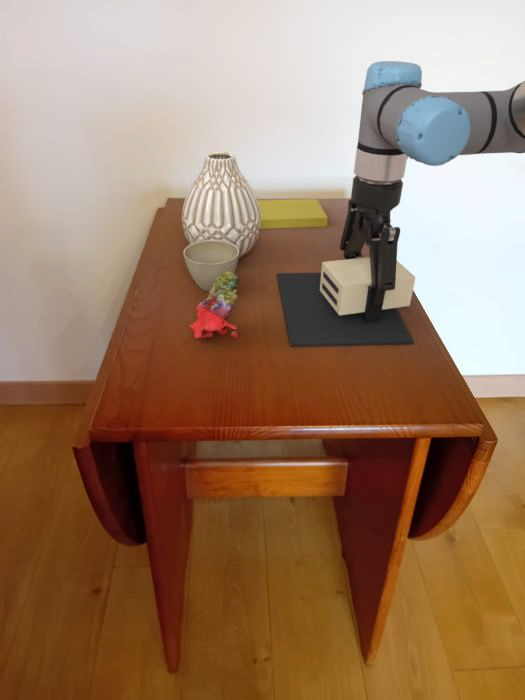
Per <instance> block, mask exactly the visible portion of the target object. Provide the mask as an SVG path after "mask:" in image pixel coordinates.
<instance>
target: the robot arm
mask: <svg viewBox="0 0 525 700" xmlns="http://www.w3.org/2000/svg"><path fill="white" fill-rule="evenodd" d="M365 75H366V76H365V80H364V81H365V82H364V86H363V89H362V93H361V95H362V101H361V109H360V110H361V111H360V117H359V118H360V119H359V129H358V136H357V137H358V138H357V145H356V150H355V159H354V168H353V173H354V175H355V176H354V177H353V178H352V185H351V193H350V199H348V204H347V214H346V219H345V222H344V227H343V231H342V234H341V239H340V244H339V249H340V251H343V253H342V255H343V258H344V260H346V259H356V258H362V257H363V254H362V250H363V248H364V246H365V244H366V246H367V247H368V250H369V257H370V266H371V280H372V286H368V293H367V300H366V307H365V313H364V319H363V320H364V321H365V322H371V321H378V320H380V317H381V311H382V306H383V302H384V296H385V291H387V290H394V289H395V280H396V262H397V261H398V242H399V240H400V235H401V228H400V227H399V226H393V225H392V224H391V221H392V220H391V212H392V211H393V209H395V208H397V207H398V206H399V204H400V203H401V198H402V192H403V187H404V182H403V180H402V179H403V178H405V174H406V167H407V161H408V159H411V160H414V161H415V162H417V163H421V164H424V165H426V166H430V167H431V166H432V167H438V166H443V165H445V164H447V163H449V162H451V161H452V160H454V159H456V158H457V157H458V156H470V155H471V156H472V155H483V154H486V155H487V154H505V153H506V154H508V153H509V154H511V153H512V154H525V80H524V81H521V82H520V83H518V84H516V85H514V86H512V87H511V88H509V89H505V90H485V91H484V90H481V91H446V92H444V91H443V92H442V91H440V92H439V91H438V92H435V91H428V90H425V89H422V85H423V84H422V77H423V70H422V67H421V65H419V64H417V63H413V62H407V61H399V60H397V61H396V60H385V61H384V60H383V61H382V60H381V61H376V62H372V63H371V64H370V65H369V66H368V68H367V70H366V74H365ZM378 239H379V240H378Z"/></svg>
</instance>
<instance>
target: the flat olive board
mask: <svg viewBox="0 0 525 700" xmlns="http://www.w3.org/2000/svg"><path fill="white" fill-rule="evenodd" d="M257 200H258V199H257ZM258 204H259V207H260V212H261V229H260V230H265V229H268V230H269V229H270V230H271V229H296V228H297V229H298V228H325V227H328V221H329V217H328V215H327V214H326V212H325V210H324V209H323V207H322V206H321V204H320V202H319V200H318V199H317V198H304V199H303V198H302V199H301V198H299V199H266V200H262V199H261V200H258Z"/></svg>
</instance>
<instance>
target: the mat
mask: <svg viewBox="0 0 525 700" xmlns="http://www.w3.org/2000/svg"><path fill="white" fill-rule="evenodd" d="M276 280H277V285H278V290H279V296H280V300H281V305H282V306H281V307H282V313H283V317H284V321H285V327H286V332H287V337H288V342H289V347H290V348H295V347H296V348H297V347H298V348H301V347H342V346H343V347H345V346H347V347H349V346H351V347H352V346H390V345H391V346H394V345H396V346H397V345H398V346H399V345H414V343H415V342H414V341H415V340H414V338H413V337H412V335H411V333H410V331H409V329H408V328H407V325H406V323H405V322H404V319H403V318H402V316H401V314H400V312H399V310H398V308H391V309H383V310H382V311H381V317H380V320H378V321H371V322H365V321H364V320H363V319H364V313H365V312H361V313H354V314H347V315H338V313H337V312H336V311H335V309H334V308H333V307H332V305H331V304H330V303H329V302H328V300H327V299H326V298H325V296H324V295H323V294H322V293H321V291H320V281H321V272H277V273H276Z"/></svg>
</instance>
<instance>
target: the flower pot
mask: <svg viewBox="0 0 525 700" xmlns="http://www.w3.org/2000/svg"><path fill="white" fill-rule="evenodd" d="M182 254H183V259H184V263H185V265H186V268H187V271H188V273H189V274H190V276H191V278H192V280H193V281H194V283H195V284H196V285H197V287H198V288H199V289H200V290H201V291H203V292H206V293H209V292H210V290H211V288H212V285H213V283H214V282H215V281H216V279H217V278H218V276H219V275H221V274H223V273H224V272H226V271H229V272H231V273H234V274H235V272H236V269H237V266H238V264H239V263H238V262H239V259H240V258H239V249H238V247H237V246H235V245H234V244H232V243H230V242H226V241H222V240H204V241H199V242H195V243H193V244H191V245H190V244H189V245H187V246H186V247H185V248H184V250H183V253H182ZM238 258H239V259H238Z"/></svg>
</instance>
